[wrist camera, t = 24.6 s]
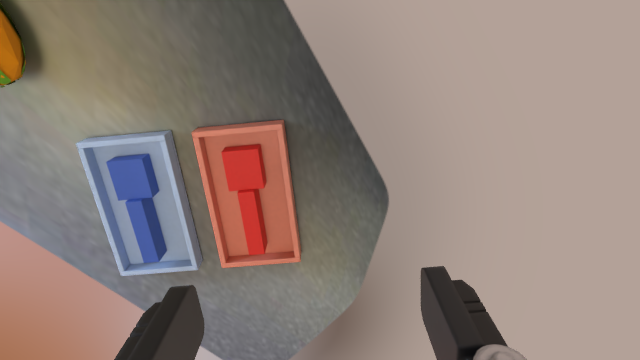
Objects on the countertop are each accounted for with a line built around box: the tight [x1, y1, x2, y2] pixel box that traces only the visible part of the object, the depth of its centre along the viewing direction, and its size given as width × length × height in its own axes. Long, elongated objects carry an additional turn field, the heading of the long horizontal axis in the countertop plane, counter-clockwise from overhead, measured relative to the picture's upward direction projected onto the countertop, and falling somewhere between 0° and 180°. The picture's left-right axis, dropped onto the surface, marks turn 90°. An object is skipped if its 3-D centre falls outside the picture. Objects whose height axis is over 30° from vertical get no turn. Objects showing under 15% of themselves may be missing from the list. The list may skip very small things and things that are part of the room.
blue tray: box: [76, 130, 203, 276], centre depth 42 cm, size 16×9×2 cm, turn 5°
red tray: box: [192, 120, 301, 268], centre depth 42 cm, size 16×9×2 cm, turn 5°
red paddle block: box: [221, 144, 268, 255], centre depth 41 cm, size 12×4×2 cm, turn 6°
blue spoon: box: [106, 154, 167, 263], centre depth 41 cm, size 12×4×2 cm, turn 6°
